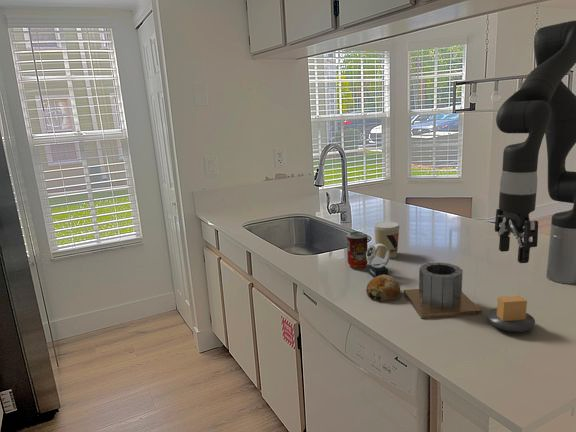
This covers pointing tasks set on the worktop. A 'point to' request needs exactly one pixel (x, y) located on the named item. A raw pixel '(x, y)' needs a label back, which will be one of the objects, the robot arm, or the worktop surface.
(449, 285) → the gray cylinder on base
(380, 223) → the coffee cup
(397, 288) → the bread roll
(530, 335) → the worktop surface
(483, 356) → the worktop surface
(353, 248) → the soda can
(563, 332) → the worktop surface
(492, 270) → the worktop surface
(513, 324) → the cap
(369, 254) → the watch
